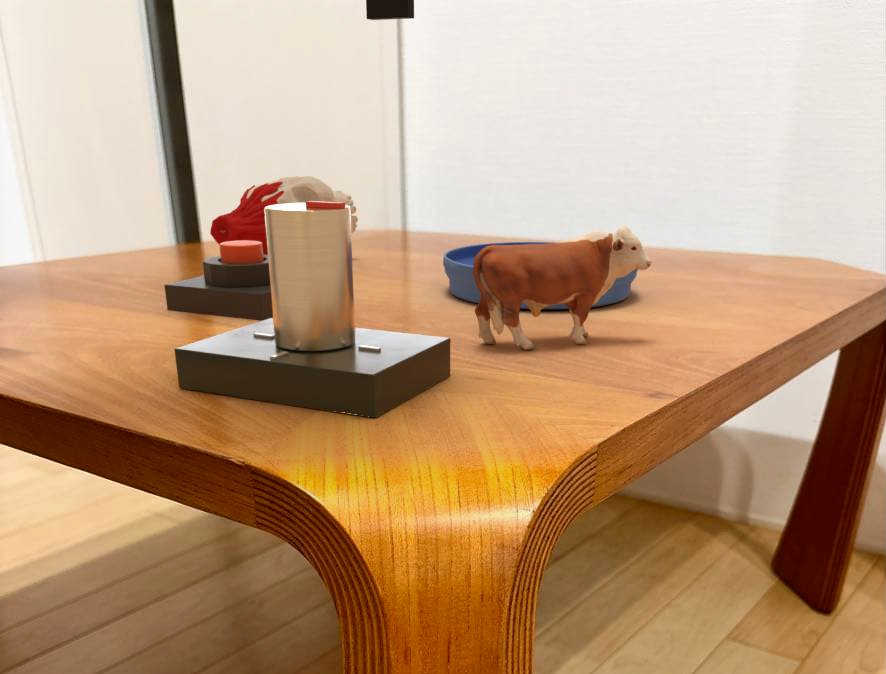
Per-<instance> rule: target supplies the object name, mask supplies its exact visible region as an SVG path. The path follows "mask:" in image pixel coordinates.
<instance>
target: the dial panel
mask: <svg viewBox="0 0 886 674" xmlns="http://www.w3.org/2000/svg"><path fill="white" fill-rule="evenodd" d="M355 339H356V340H355V343H354V344H352V345H350V346H348V347H345V348H341V349H336V350H329V351H293V350H287V349H283V348H280V347H278V346H277V345H276V344H275V338H274V325H273V318H269V319H266V320H263V321H261V320H259V321H257V322H254V323H251V324H247V325H244V326H241V327H238V328H235V329H232V330H228V331H225V332H222V333H219V334H216V335H213V336H210V337H207V338H204V339H200V340H198V341H194V342H191V343H188V344H185V345H181V346H178V347H175V348H174V358H175V365H176V374H177V380H178V388H179V389H182V390H188V391H189V390H190V391H196V392H202V393H209V394H216V395H222V396H229V397H235V398H241V399H246V400H247V399H248V400H254V401H261V402H267V403H274V404H279V405H287V406H294V407H299V408H306V409H312V408H314V409H313V410H319V409H322V410H321V411H325V410H328V411H327V412H332V411H336V412H335V413H338V412H345V413H351V414H357V415H356V416H358V415H363V416H362V417H364V416H369V417H368V418H371V417H376V416H377V417H379V416H381V415H383V414H384V412H385V413H386V412H388V411H390V410H392V409H394V408H396V407H397V406H400V405H401V404H403V403H405V402H406V401H408V400H409V398H410V399H411V398H413V397H415V396H417V395H418V394H420V393H422V392H425V390H427V389H429V388H432V387H434V385H436V384H438V383H440V382H442V381H444V380H445V379H447V378H449V377H450V376H451V337H445V336H435V335H427V334H419V333H418V334H417V333H407V332H399V331H391V330H383V329H381V330H380V329H373V328H363V327H355ZM393 407H394V408H393ZM315 408H316V409H315ZM345 413H344V414H345ZM382 413H383V414H382ZM351 414H350V415H351ZM380 414H381V415H380ZM378 415H379V416H378ZM377 417H376V418H377Z"/></svg>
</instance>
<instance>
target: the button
mask: <svg viewBox="0 0 886 674" xmlns="http://www.w3.org/2000/svg"><path fill="white" fill-rule="evenodd" d="M218 246H219V256H221V262H223V263H253V262H261V261H264V259H263V246H262V242H259V241H250V240H238V241H227V242H222V243H220V244H218Z"/></svg>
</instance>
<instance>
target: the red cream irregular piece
mask: <svg viewBox="0 0 886 674" xmlns="http://www.w3.org/2000/svg"><path fill="white" fill-rule="evenodd" d="M307 201H323V202H344V203H345V205H348V206H350V215H351V235H352V234H353V233H354V232H355V231H356V228H357V227H358V225H357V223H358V221H359V219H358V216H357V215H354V214H356V213H357V207H356V206H355V205H354V204H355V203H354V200H353V199H352V196H351V195H349V194H345V193H344V192H343V191H342V190H333V189H332V187H331V186H329V185H328V184H327V183H325V182H324V181H322V180H321V179H319V178H318V177H314V176H311V175H306V176H304V175H303V176H298V175H297V176H296V175H295V176H284V177H280V178H278V179H276V180H272V181H269V182H265V183H264V184H260V185H255V184H254V185H252V186H251V187H250V188H247V189H246V190H245V191H244V192H243V194H242V196H241V198H240V201H239V204H238V206H237V207H236V208H234V209H233V210H232V211H231V212H228V213H225V214H221V215H218V216H217V217H216V218H214V219H212V221H211V227H210V233H209V234H210V236H211V237H212V238H213V239H214V241H215V242H216V243H217V244H218V245H219V244H220V243H222V242H227V241H238V240H250V241H259V242H262V246H263V255H268V249H267V236H266V223H265V211H264V209H265V207H267V206H270V205H276V204H288V203H305V202H307Z"/></svg>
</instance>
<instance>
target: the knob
mask: <svg viewBox="0 0 886 674" xmlns="http://www.w3.org/2000/svg"><path fill="white" fill-rule="evenodd" d="M264 211H265V223H266V236H267V249H268V261H269V274H270V287H271V300H272V312H273V325H274V338H275V344H276V345H277V346H278V347H280V348H283V349H287V350H293V351H329V350H336V349H341V348H345V347H348V346H350V345H352V344H354V343H355V340H356V339H355V328H356V319H355V318H356V317H355V294H354V293H355V291H354V272H353V271H354V269H353V267H354V266H353V243H352V242H353V241H352V234H351V215H352V214H351V215H350V206H348V205H345V203H344V202H323V201H307V202H305V203H288V204H276V205H270V206H267V207H265V209H264Z"/></svg>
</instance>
